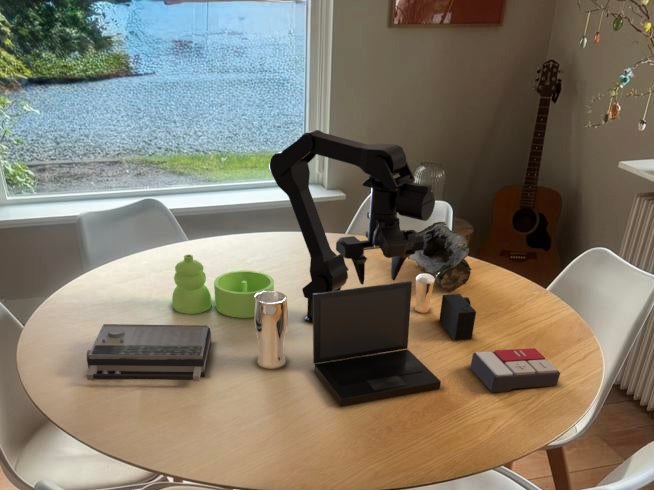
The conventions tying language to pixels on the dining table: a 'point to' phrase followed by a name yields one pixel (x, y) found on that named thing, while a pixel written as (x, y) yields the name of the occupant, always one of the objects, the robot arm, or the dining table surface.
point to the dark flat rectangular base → (376, 377)
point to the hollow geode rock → (444, 256)
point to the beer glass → (270, 327)
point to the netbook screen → (361, 321)
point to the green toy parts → (217, 290)
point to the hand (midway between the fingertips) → (377, 281)
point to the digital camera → (457, 316)
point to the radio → (150, 352)
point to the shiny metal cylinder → (423, 292)
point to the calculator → (514, 369)
